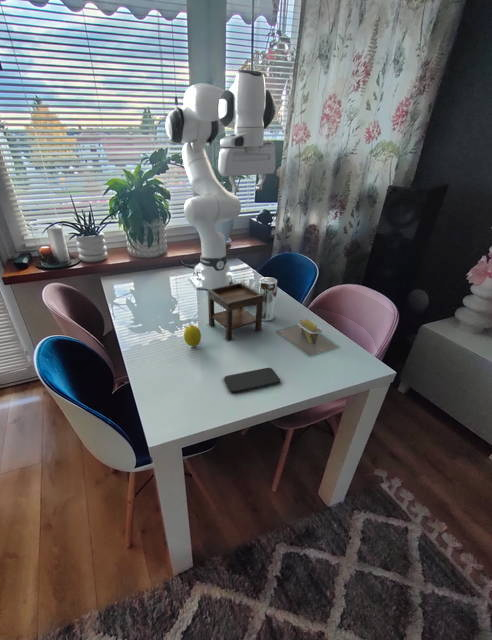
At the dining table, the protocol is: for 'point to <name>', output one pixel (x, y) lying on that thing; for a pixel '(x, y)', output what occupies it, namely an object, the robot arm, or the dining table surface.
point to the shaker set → (254, 286)
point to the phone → (251, 380)
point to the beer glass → (268, 296)
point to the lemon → (192, 335)
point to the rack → (235, 307)
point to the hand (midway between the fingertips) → (247, 191)
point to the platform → (307, 338)
